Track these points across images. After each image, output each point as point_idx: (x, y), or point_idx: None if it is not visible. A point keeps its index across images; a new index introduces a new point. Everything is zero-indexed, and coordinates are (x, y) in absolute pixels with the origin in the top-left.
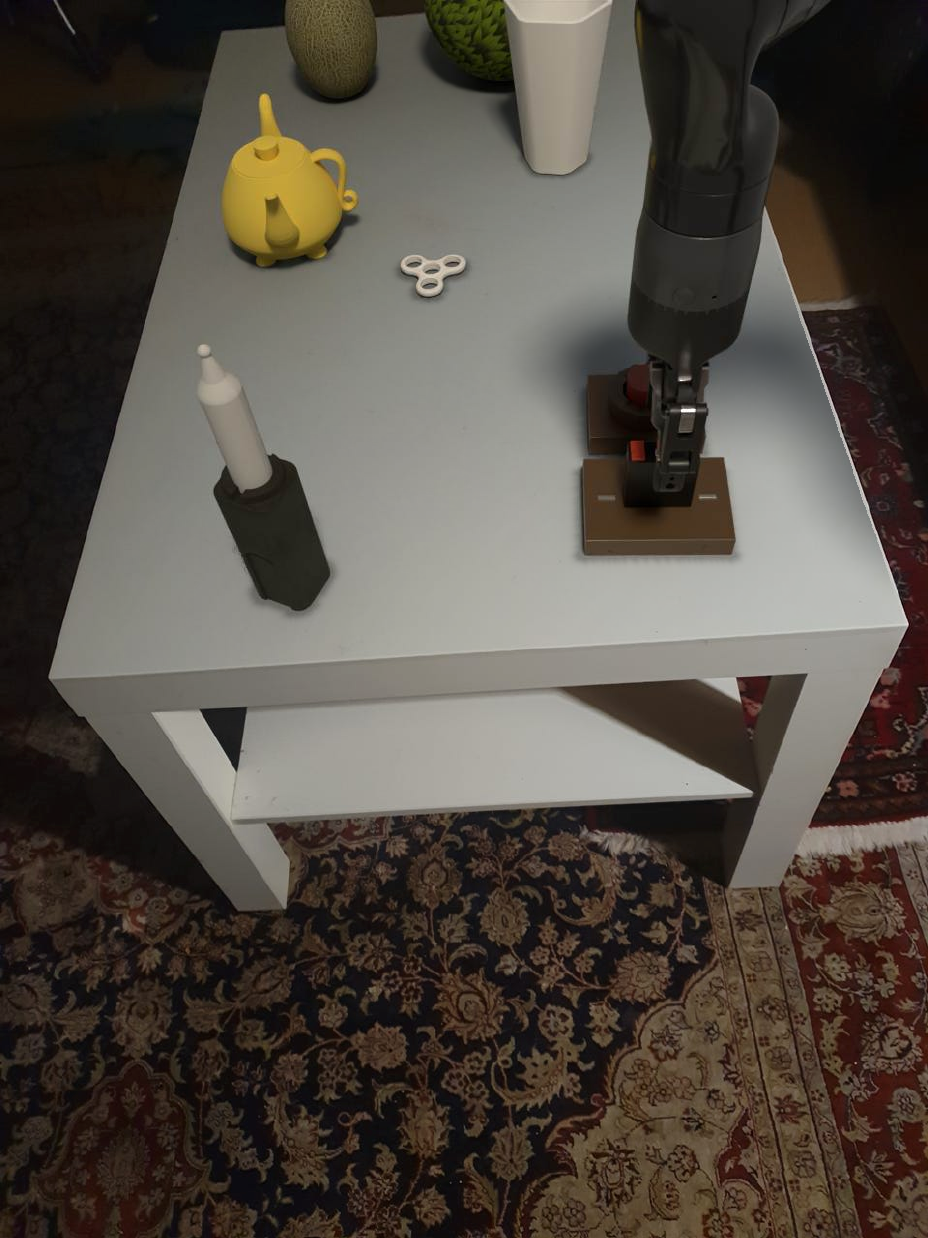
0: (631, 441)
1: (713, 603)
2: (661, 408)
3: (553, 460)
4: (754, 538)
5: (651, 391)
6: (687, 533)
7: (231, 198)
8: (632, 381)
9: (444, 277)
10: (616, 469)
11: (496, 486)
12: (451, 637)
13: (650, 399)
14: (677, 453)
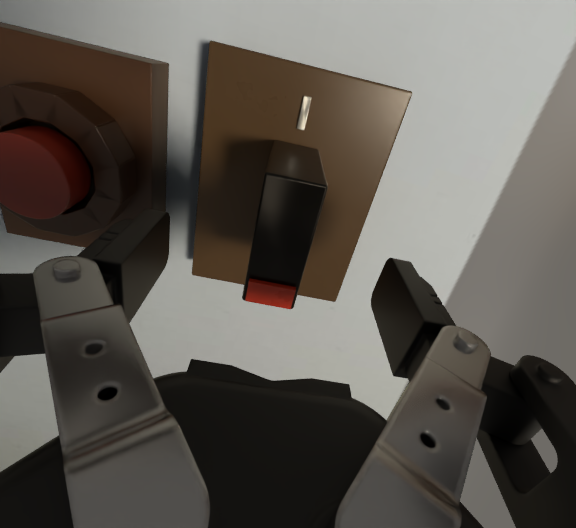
0: (247, 300)
1: (471, 150)
2: (168, 236)
3: (172, 284)
4: (382, 30)
5: (147, 288)
6: (369, 172)
7: None
8: (42, 212)
9: None
10: (217, 238)
11: (209, 343)
12: (386, 399)
13: (156, 274)
14: (502, 417)
